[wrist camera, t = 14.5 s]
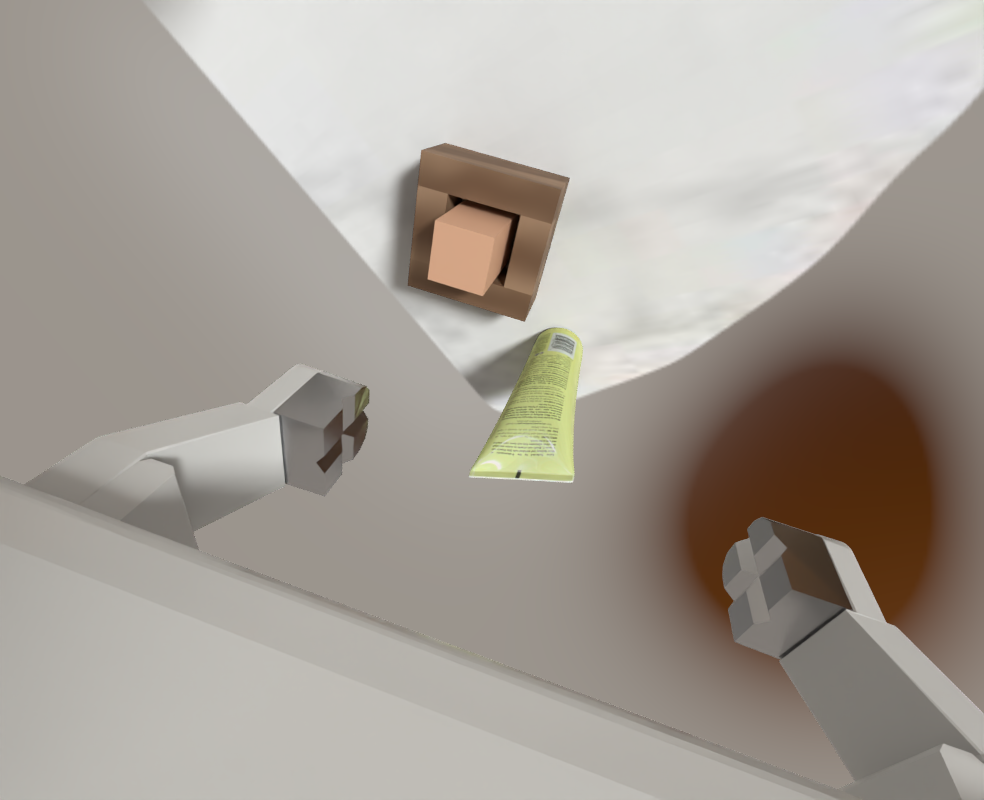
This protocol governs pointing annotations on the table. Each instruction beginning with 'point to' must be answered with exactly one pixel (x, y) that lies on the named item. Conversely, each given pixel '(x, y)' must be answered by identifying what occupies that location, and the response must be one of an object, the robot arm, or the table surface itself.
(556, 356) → the tube
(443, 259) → the peg
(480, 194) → the socket block
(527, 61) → the table surface
